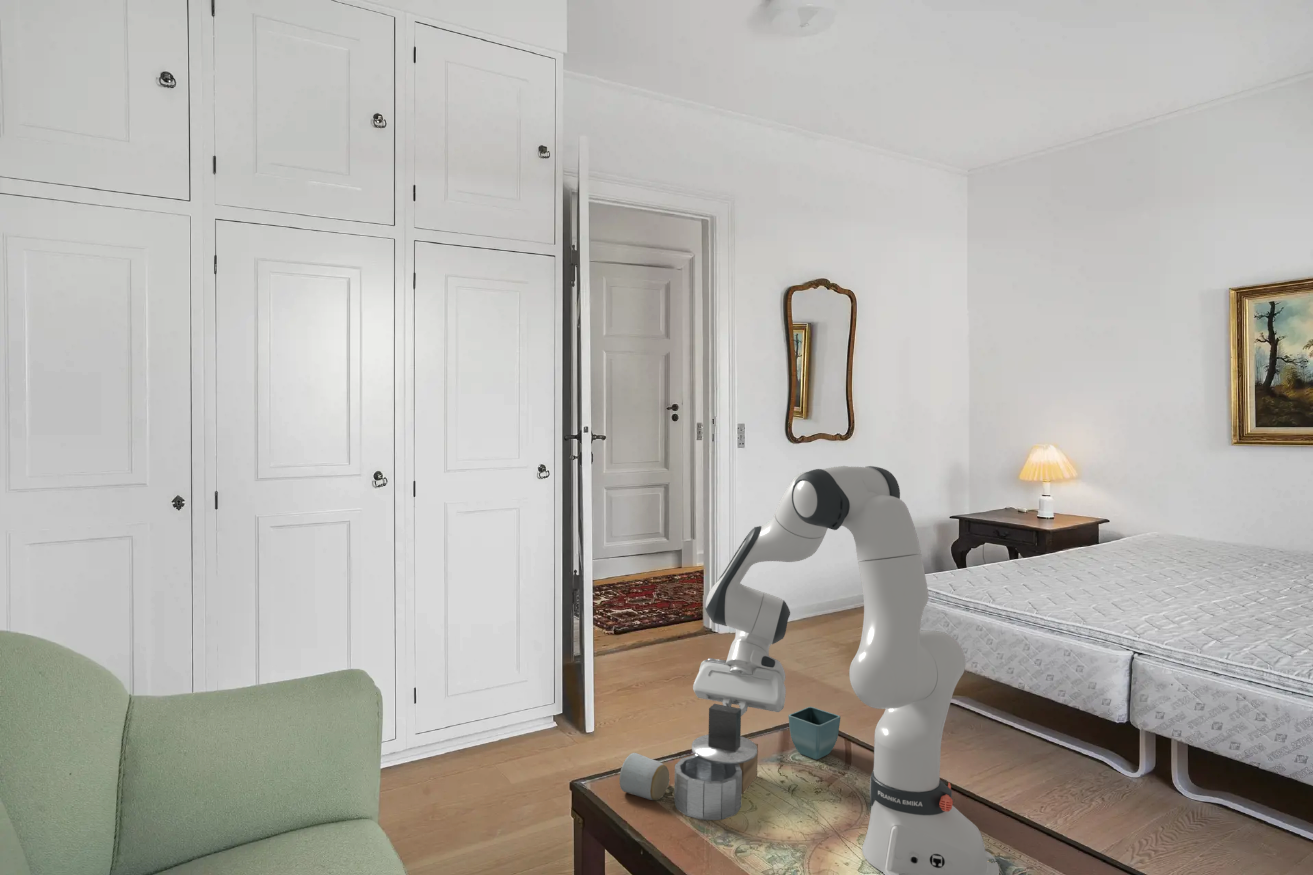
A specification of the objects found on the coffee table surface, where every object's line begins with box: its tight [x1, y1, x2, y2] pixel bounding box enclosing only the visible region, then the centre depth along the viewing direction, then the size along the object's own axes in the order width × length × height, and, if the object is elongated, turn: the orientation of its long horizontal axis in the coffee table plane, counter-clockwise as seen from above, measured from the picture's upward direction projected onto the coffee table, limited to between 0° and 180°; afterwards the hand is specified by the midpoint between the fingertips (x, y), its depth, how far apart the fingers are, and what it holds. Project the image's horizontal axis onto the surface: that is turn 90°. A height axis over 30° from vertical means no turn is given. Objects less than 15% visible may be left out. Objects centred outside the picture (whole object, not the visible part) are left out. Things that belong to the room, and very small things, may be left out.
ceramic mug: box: [619, 752, 670, 801], centre depth 160 cm, size 11×8×8 cm
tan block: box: [739, 743, 759, 795], centre depth 166 cm, size 10×9×7 cm
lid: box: [691, 703, 757, 764], centre depth 164 cm, size 14×14×9 cm
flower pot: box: [788, 706, 841, 760], centre depth 180 cm, size 9×9×9 cm
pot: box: [673, 754, 743, 821], centre depth 156 cm, size 13×13×7 cm
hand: (730, 721), depth 166 cm, fingers closed
